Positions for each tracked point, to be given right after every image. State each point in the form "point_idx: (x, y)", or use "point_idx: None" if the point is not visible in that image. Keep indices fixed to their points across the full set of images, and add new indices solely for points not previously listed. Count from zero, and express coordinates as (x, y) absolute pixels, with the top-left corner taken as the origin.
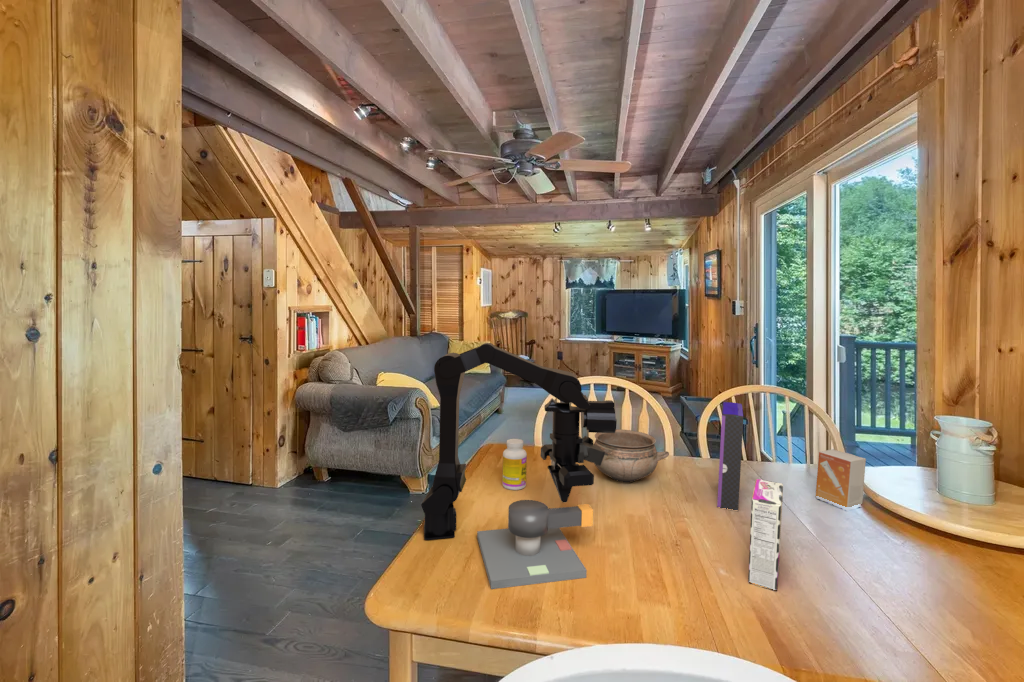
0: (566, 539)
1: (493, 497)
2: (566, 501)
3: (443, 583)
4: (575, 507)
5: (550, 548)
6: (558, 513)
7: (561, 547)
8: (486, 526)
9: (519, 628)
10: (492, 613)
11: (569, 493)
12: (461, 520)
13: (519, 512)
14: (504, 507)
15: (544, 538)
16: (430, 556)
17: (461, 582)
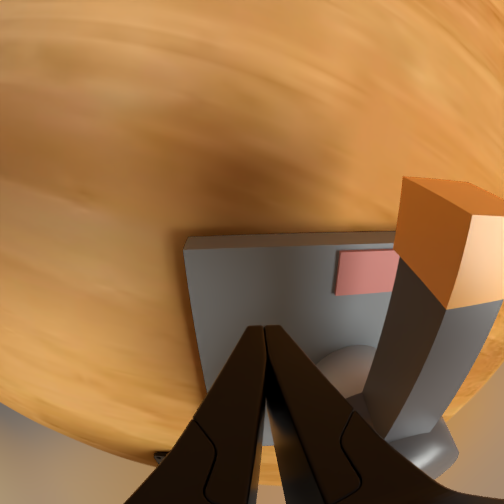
0: (334, 246)
1: (4, 358)
2: (281, 331)
3: None
4: (455, 321)
5: (372, 317)
6: (448, 402)
7: (387, 284)
8: (159, 412)
9: (497, 367)
10: (457, 399)
11: (326, 380)
12: (134, 438)
13: None
14: (43, 353)
15: (301, 324)
16: (277, 471)
17: None
